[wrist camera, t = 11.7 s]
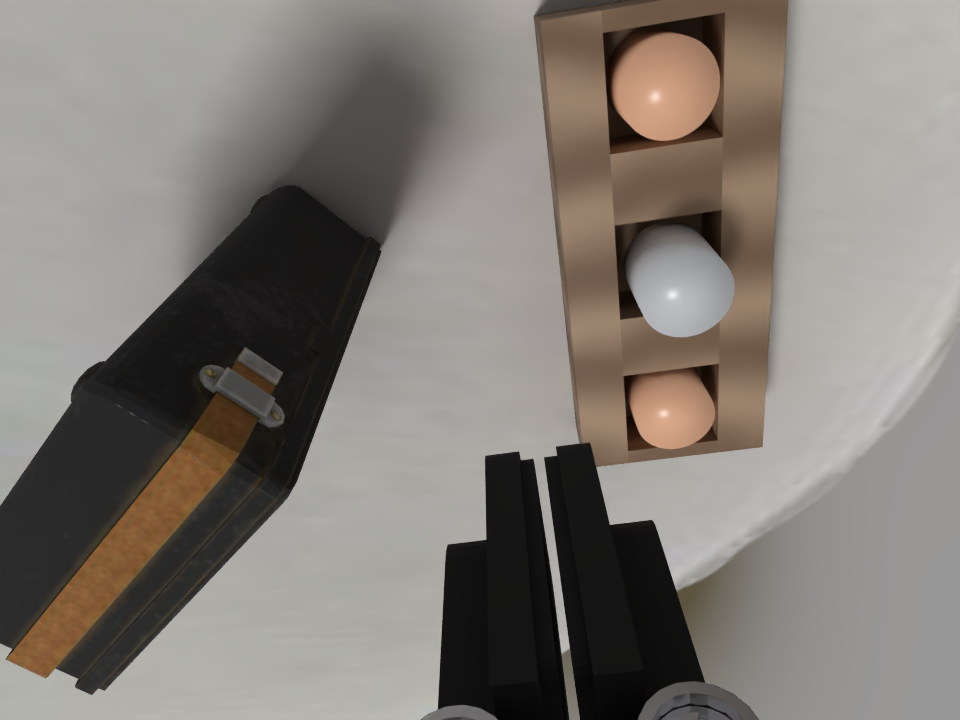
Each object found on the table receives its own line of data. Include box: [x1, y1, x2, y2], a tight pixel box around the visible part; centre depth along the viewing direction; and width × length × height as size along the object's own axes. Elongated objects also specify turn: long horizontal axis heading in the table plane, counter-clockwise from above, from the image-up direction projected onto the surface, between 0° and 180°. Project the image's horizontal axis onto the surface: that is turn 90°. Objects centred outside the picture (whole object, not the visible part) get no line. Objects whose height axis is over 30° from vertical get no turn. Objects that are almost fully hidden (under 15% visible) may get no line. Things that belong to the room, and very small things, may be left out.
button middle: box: [623, 221, 735, 337], centre depth 39 cm, size 5×5×5 cm
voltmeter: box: [0, 186, 381, 695], centre depth 36 cm, size 16×9×25 cm, turn 139°
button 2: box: [605, 28, 720, 141], centre depth 37 cm, size 5×5×5 cm
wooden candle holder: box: [534, 0, 788, 467], centre depth 42 cm, size 28×12×5 cm, turn 9°
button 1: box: [624, 367, 715, 449], centre depth 46 cm, size 5×5×5 cm
